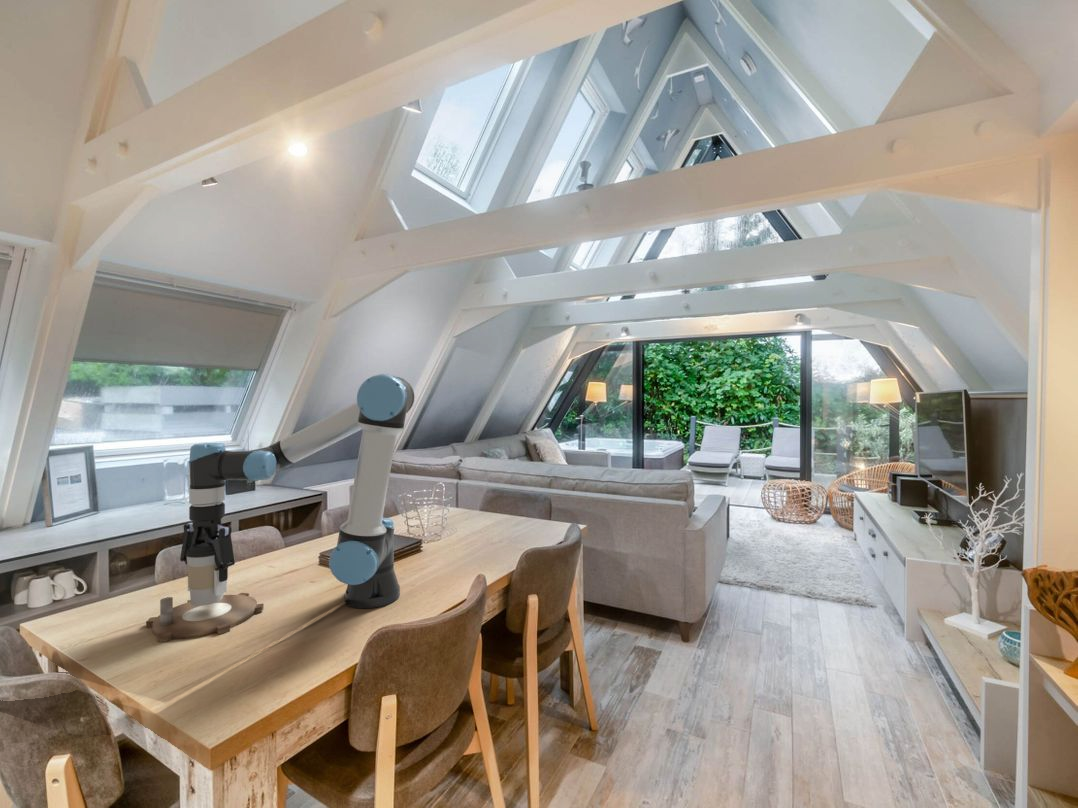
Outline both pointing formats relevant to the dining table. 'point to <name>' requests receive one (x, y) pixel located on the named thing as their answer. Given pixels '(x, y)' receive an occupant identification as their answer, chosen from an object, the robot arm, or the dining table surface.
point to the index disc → (202, 617)
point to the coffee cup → (201, 574)
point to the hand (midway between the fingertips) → (207, 591)
